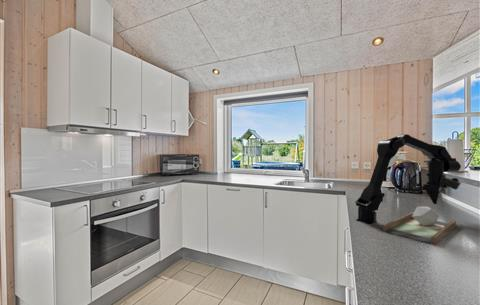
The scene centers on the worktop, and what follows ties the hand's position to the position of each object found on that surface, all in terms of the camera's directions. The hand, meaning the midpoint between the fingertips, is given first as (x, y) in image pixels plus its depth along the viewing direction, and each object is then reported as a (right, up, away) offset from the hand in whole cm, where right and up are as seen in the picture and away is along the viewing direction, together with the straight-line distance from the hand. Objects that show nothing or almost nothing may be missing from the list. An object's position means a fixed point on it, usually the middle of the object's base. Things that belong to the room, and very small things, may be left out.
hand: (435, 203), depth 105 cm
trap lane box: (-18, -7, -13) cm, 23 cm away
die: (-13, -7, -9) cm, 17 cm away
